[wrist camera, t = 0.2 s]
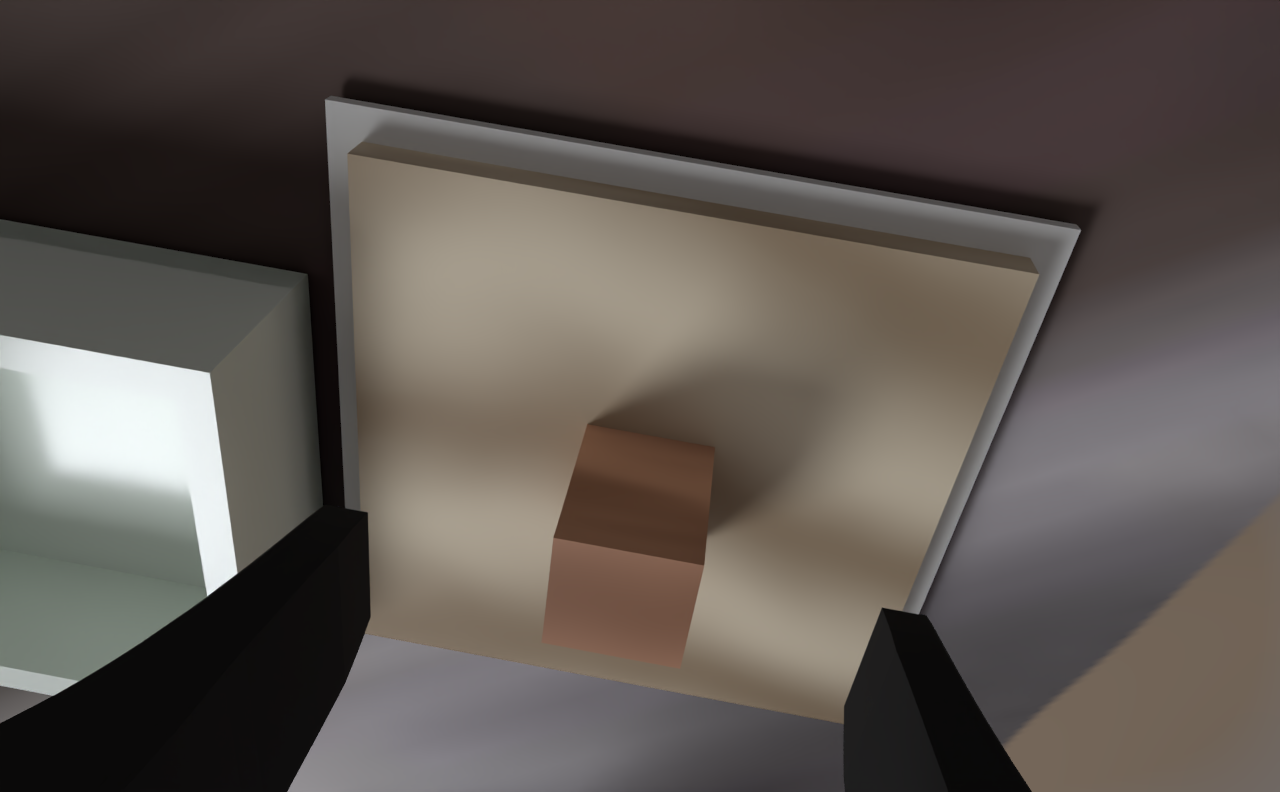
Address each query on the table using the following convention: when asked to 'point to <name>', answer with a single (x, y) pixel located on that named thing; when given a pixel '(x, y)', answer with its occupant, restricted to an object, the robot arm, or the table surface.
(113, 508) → the open box
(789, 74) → the table surface
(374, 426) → the lid
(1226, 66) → the table surface
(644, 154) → the mat
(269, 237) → the table surface
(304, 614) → the robot arm
